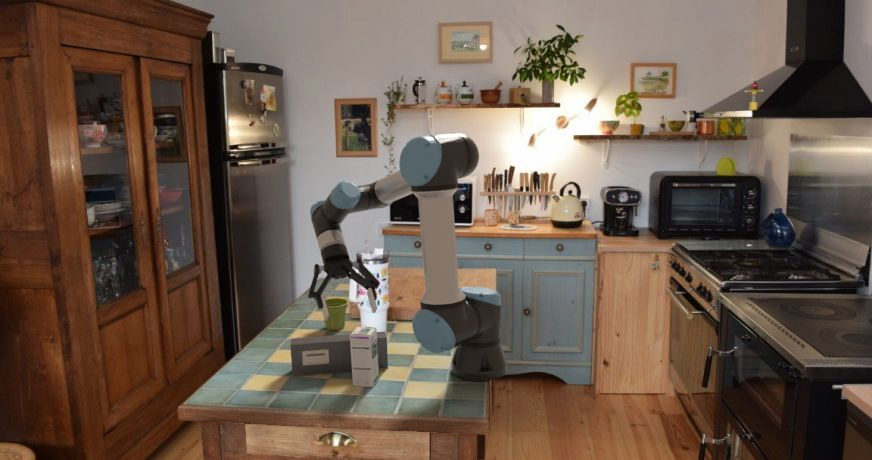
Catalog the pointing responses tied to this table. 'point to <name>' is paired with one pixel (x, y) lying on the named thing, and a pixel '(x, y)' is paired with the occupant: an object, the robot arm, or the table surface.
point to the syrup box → (364, 356)
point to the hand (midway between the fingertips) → (351, 314)
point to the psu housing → (329, 354)
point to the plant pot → (336, 313)
